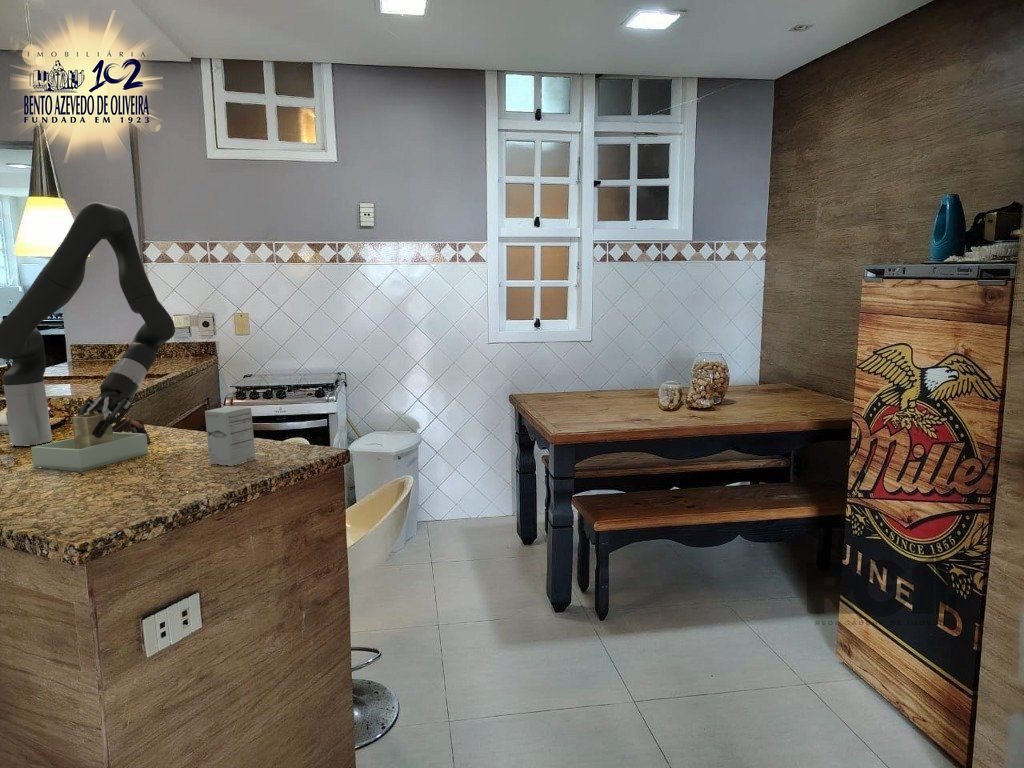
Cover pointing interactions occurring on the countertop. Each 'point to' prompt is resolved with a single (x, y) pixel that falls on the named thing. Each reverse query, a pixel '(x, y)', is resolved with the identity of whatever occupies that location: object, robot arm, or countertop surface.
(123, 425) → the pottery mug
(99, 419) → the brown cardboard box
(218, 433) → the supplement box
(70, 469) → the sage crate
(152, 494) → the countertop surface
